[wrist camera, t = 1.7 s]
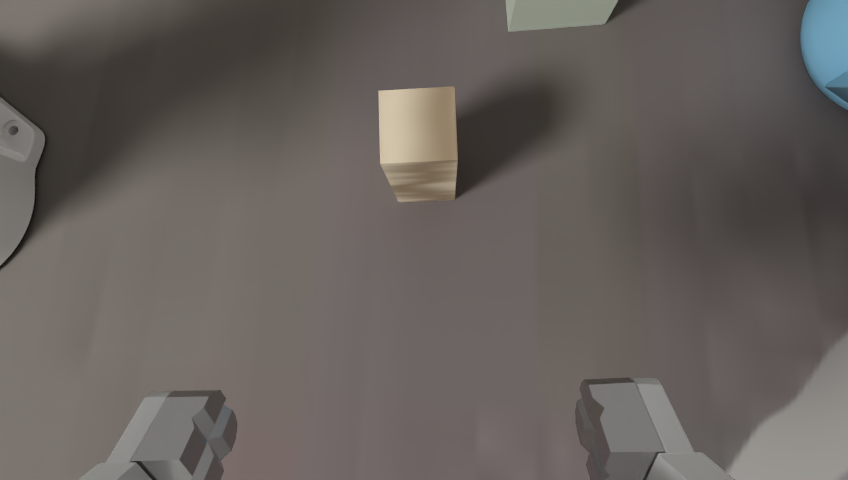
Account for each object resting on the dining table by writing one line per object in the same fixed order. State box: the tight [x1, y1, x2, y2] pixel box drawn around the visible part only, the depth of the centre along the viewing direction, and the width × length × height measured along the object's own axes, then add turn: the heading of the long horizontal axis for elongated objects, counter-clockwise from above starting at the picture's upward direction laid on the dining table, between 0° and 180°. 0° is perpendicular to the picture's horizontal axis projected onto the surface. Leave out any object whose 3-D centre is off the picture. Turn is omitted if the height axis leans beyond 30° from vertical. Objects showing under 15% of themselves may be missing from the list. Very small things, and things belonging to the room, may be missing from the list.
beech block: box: [379, 87, 458, 202], centre depth 31 cm, size 4×4×10 cm
